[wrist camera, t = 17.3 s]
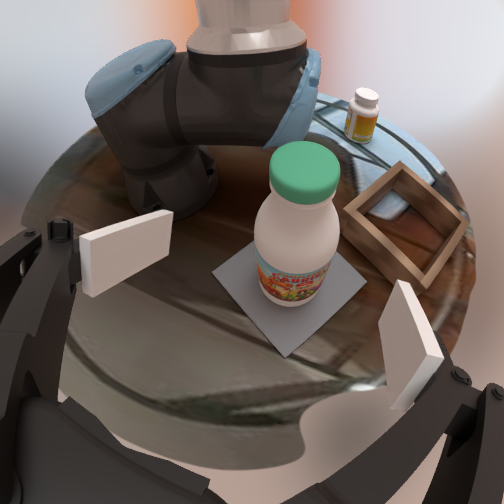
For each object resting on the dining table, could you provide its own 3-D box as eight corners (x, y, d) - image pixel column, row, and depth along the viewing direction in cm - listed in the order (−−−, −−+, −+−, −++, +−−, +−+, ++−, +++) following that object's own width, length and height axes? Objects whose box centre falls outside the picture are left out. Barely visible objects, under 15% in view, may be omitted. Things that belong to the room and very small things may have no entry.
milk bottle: (248, 266, 36) (225, 145, 18) (301, 241, 37) (320, 114, 19) (276, 319, 33) (282, 233, 15) (332, 290, 34) (388, 184, 16)
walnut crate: (335, 229, 38) (343, 208, 34) (390, 181, 42) (399, 160, 37) (409, 301, 33) (426, 289, 28) (453, 239, 36) (469, 223, 32)
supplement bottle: (376, 138, 46) (388, 97, 38) (359, 148, 45) (371, 105, 36) (355, 123, 48) (364, 82, 40) (337, 132, 47) (345, 89, 39)
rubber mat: (212, 273, 36) (211, 272, 36) (292, 213, 40) (293, 211, 39) (284, 358, 31) (285, 357, 30) (365, 283, 34) (367, 281, 34)
